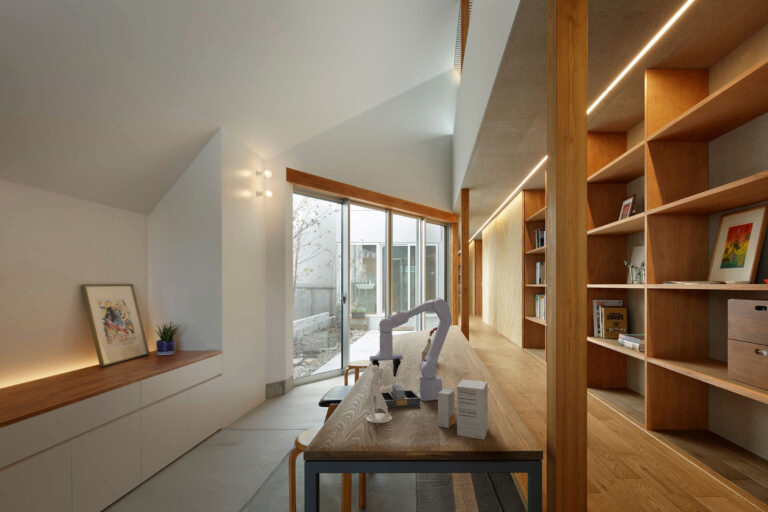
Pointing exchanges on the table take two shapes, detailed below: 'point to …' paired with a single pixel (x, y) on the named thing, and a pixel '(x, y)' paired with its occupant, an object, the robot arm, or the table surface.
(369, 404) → the female figurine
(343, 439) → the table surface
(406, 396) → the divided tray
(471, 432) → the supplement box
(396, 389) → the grey rectangular block
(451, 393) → the skincare box
